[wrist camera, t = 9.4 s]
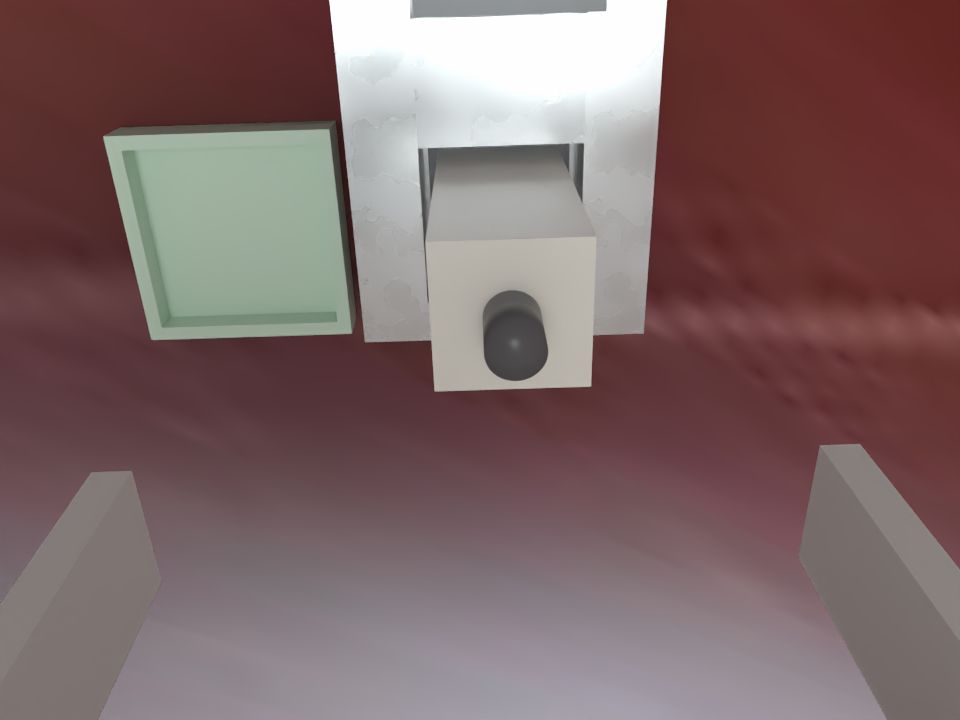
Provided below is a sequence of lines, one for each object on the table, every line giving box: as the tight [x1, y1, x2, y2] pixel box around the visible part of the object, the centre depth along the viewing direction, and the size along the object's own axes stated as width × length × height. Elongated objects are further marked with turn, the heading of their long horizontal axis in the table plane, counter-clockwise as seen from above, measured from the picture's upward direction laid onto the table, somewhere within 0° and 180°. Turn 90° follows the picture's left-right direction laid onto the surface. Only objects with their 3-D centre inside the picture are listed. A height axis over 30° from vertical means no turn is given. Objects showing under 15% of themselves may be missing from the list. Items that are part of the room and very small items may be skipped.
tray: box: [103, 121, 357, 340], centre depth 36 cm, size 9×9×2 cm
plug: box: [425, 145, 597, 391], centre depth 29 cm, size 5×5×14 cm
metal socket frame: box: [330, 0, 667, 342], centre depth 32 cm, size 12×21×4 cm, turn 2°
